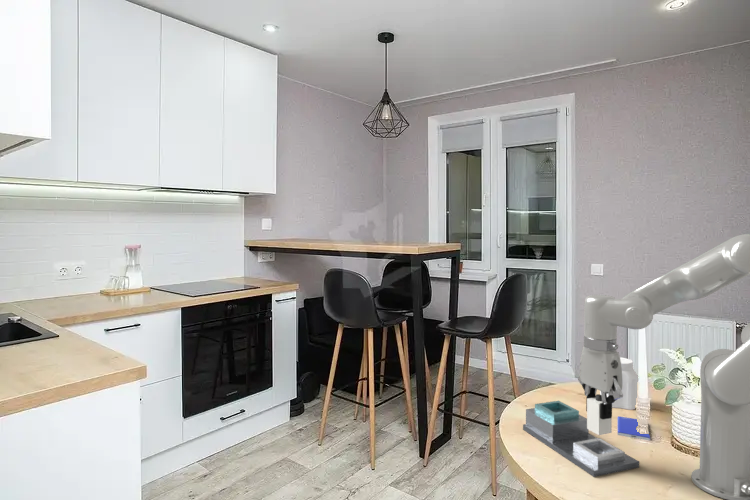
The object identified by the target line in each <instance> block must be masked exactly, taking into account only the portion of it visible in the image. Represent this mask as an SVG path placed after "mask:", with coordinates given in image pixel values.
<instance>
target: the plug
mask: <svg viewBox="0 0 750 500" xmlns="http://www.w3.org/2000/svg"><path fill="white" fill-rule="evenodd" d="M600 403H602V396H601V395H600V394H597V393H596V397H594V398H587V411H586V418H587V429H588V430H589V431H590V432H592V433H594V434H596V435H598V436H602V435H607V434H612V431H613V430H612V427H613V426H612V425H613V424H612V423H613V422H612V421H613V419H612V418H609V419H601V418H600Z"/></svg>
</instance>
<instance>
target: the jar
mask: <svg viewBox="0 0 750 500" xmlns="http://www.w3.org/2000/svg"><path fill="white" fill-rule="evenodd" d="M620 360H621V367H622V390H621V391H622V394H623V397H622V398H619V399H617V400H616V401H615V402H614V403H612V409H622V410H623V409H624V410H629V411H631V410H635V405H636V398H637V382H638V383H639V378H638V377H639V375H638V373H637V372H636V371H635V369H634V361H633V360H632V359H630V358H626V357H622V356H620ZM599 393H600V395H601V391H600V390H599ZM613 393H614V391H613ZM608 396H609V395H608V394H607V397H608Z"/></svg>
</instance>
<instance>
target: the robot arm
mask: <svg viewBox="0 0 750 500" xmlns="http://www.w3.org/2000/svg"><path fill="white" fill-rule="evenodd" d="M748 276H750V233H744V234H739V235H736V236H733V237H731V238H729V239H727V240H724V242H721V244H718V245H716V246H715V247H713V248H711V249H709V250H708V251H706V252H703V253H702V254H700V255H698V256H697V257H695V258H692V259H690V260H689V261H687V262H685V263H683V264H681V265H680V266H677V267H675V268H674V269H672V270H670V271H669V272H667V273H665V274H663V275H661V276H659V277H656V278H655V279H653V280H652V281H649V282H648V283H645V284H643V285H642V286H640V287H639V288H636V289H635V290H633V291H631V292H629V293H628V294H626V295H624V296H623V297H622V298H615V297H613V296H611V295H607V294H590V295H588V296H587V295H586V297H585V298H584V305H583V308H584V309H583V310H584V312H583V346H582V350H581V354H580V360H579V376H578V377H577V381H578V382H579V384H580V385H581V387H582V388H583V392H584V396H585V397H586V399H585V400H586V401H585V403H586V406H585V407H586V408H585V410H586V412H587V398H594V397H596V395H597V391H599V392H600V391H601V396H602V403H600V418H601V419H609V418H612V417H613V408H612V403H614V402H615V401H616V400H617V399H619V398H622V397H623V394H622V391H621V390H622V367H621V360H620V357H621V355H620V353H619V352H618V349H619V345H618V344H617V342H618V341H617V340H618V339H617V338H618V330H617V329H618V327H621V328H624V329H629V330H643V329H645V328H647V327H649V326H650V325H651V323H652V322H653V319H654V316H655V315H656V314H658V313H660V312H662V311H664V310H667V309H668V308H670V307H673V306H675V305H678V304H681V303H683V302H688V301H695V300H696V301H697V300H700V299H703V298H705V297H706V298H707V297H708V296H710V295H712V294H715V293H716V292H718V291H720V290H723V288H725V287H728V286H729V285H731V284H733V283H735V282H737V281H740V280H742V279H743V278H746V277H748ZM740 341H741V343H742V344H741V345H740V346H738V347H737V348H736V349H735V350H732V349H729V348H716V349H715V350H712V351H710V352H708V353H707V354H706V355H705V356H704V357H703V359H702V361H701V364H700V370H699V371H700V373H699V374H700V395H701V396H700V399H701V400H700V401H701V403H700V404H701V405H700V432H699V433H700V435H699V436H700V437H699V438H700V440H699V468H697V469H694V470H692V472H691V474H690V475H691V478H690V479H691V481H692V483H693V484H694V485H695V486H697V488H699V489H700V490H702V491H704V492H706V493H708V494H710V495H712V496H715V497H718V498H721V499H724V500H750V322H749V323H747V324H746V325H745V326H744V327H743V329H742V331H741V333H740ZM613 391H614V393H613ZM607 394H608V395H609V396H608V397H607Z"/></svg>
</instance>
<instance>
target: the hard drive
mask: <svg viewBox="0 0 750 500" xmlns="http://www.w3.org/2000/svg"><path fill="white" fill-rule="evenodd" d="M637 419H638V418H632V417H627V416H617V421H616V422H617V436H622V437H628V438H633V439H638V440H644V441H645V440H646V441H651V436H650V435H649V434H640V433H639V432H637V430H636V427H637V426H638V422H637Z"/></svg>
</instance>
